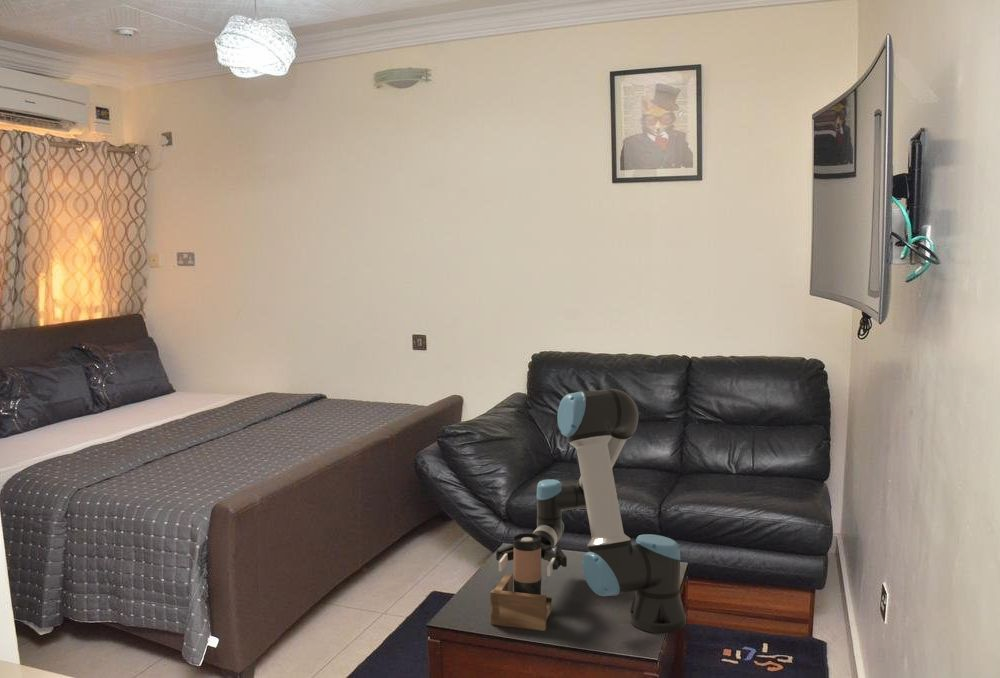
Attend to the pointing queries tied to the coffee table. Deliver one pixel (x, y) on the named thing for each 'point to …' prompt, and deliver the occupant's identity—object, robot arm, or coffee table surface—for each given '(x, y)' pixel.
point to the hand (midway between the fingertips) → (524, 569)
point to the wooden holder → (518, 607)
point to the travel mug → (527, 563)
